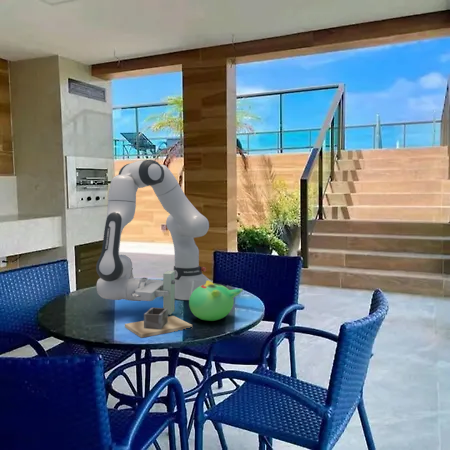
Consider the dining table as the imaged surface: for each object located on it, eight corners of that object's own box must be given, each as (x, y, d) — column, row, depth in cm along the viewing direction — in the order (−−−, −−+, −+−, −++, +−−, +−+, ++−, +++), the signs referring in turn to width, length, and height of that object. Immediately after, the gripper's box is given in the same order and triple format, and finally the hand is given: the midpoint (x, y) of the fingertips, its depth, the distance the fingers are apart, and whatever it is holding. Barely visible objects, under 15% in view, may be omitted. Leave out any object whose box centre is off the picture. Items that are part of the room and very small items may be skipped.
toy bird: (211, 311, 194) (211, 275, 192) (244, 319, 183) (244, 281, 182) (180, 320, 180) (180, 282, 178) (213, 329, 169) (214, 289, 168)
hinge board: (173, 318, 182) (173, 302, 181) (192, 328, 170) (192, 311, 170) (124, 327, 170) (124, 310, 170) (141, 337, 159) (141, 319, 158)
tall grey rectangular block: (167, 310, 189) (167, 270, 187) (178, 310, 188) (178, 271, 187) (163, 314, 183) (163, 273, 182) (174, 314, 182) (174, 274, 181)
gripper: (128, 287, 176) (164, 289, 174) (145, 276, 196) (177, 277, 194) (128, 304, 177) (164, 305, 175) (145, 291, 197) (177, 292, 195)
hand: (171, 291), depth 185 cm, fingers closed on tall grey rectangular block, 6 cm apart
